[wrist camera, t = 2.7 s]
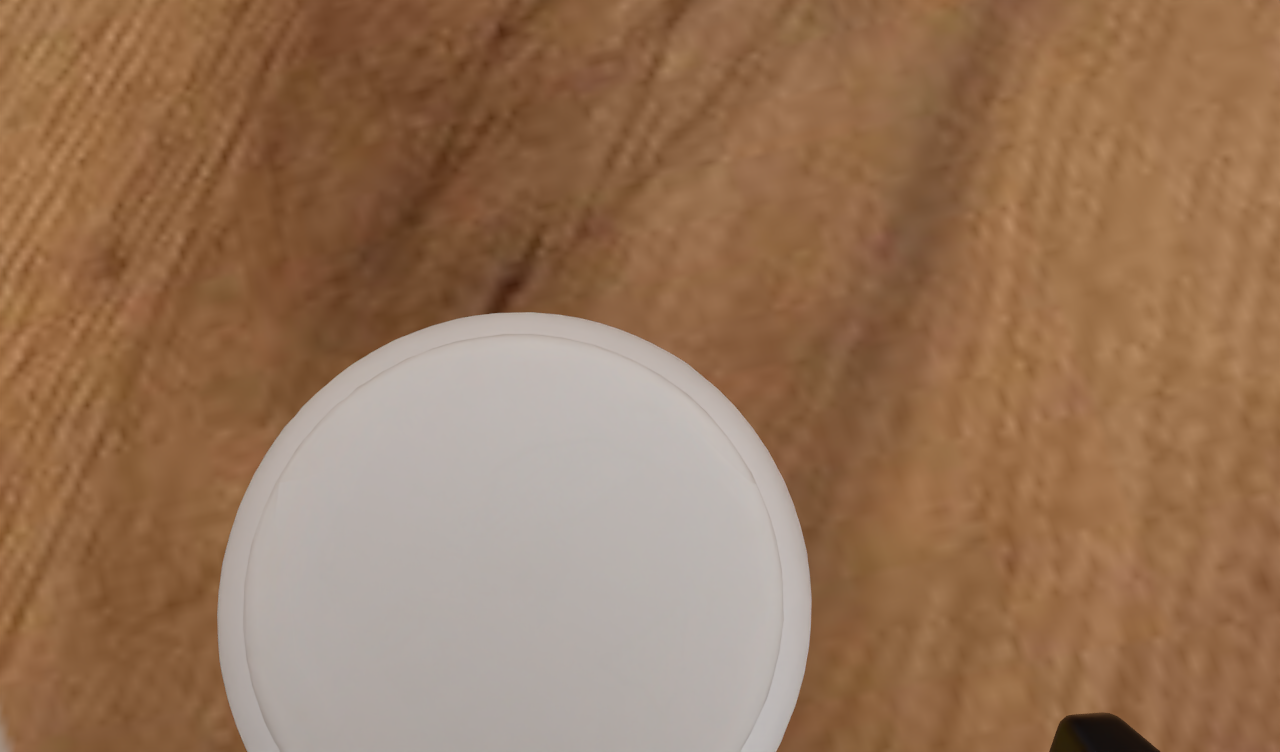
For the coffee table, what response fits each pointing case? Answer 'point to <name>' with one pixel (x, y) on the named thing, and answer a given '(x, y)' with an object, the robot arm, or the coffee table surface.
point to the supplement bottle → (515, 556)
